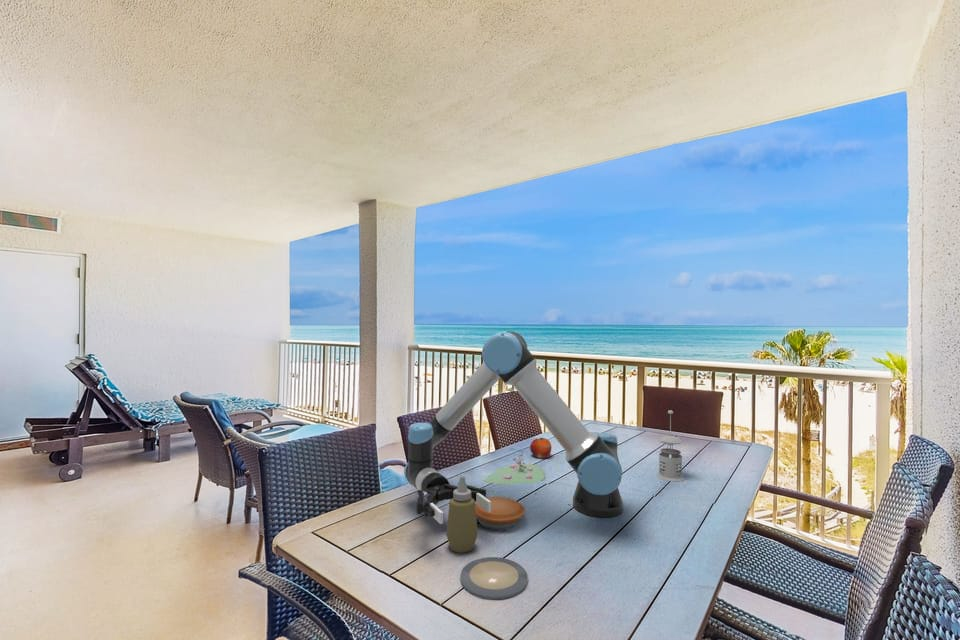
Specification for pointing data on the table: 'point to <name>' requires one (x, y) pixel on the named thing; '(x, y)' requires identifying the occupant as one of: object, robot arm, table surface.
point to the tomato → (541, 447)
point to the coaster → (494, 578)
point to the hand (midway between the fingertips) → (466, 512)
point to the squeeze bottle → (462, 519)
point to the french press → (670, 459)
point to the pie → (500, 513)
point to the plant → (516, 474)
